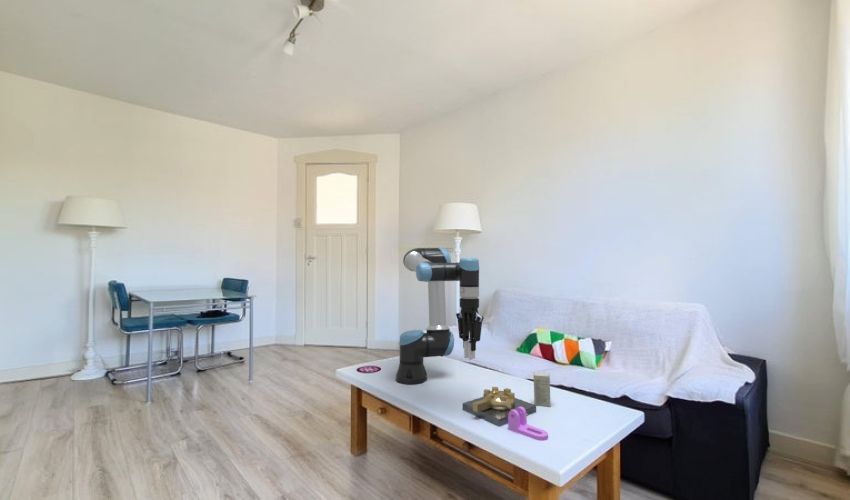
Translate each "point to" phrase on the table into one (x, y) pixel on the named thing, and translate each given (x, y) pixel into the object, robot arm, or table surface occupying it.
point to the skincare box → (542, 389)
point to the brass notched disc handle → (495, 400)
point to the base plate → (498, 411)
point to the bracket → (524, 425)
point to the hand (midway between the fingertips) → (469, 358)
